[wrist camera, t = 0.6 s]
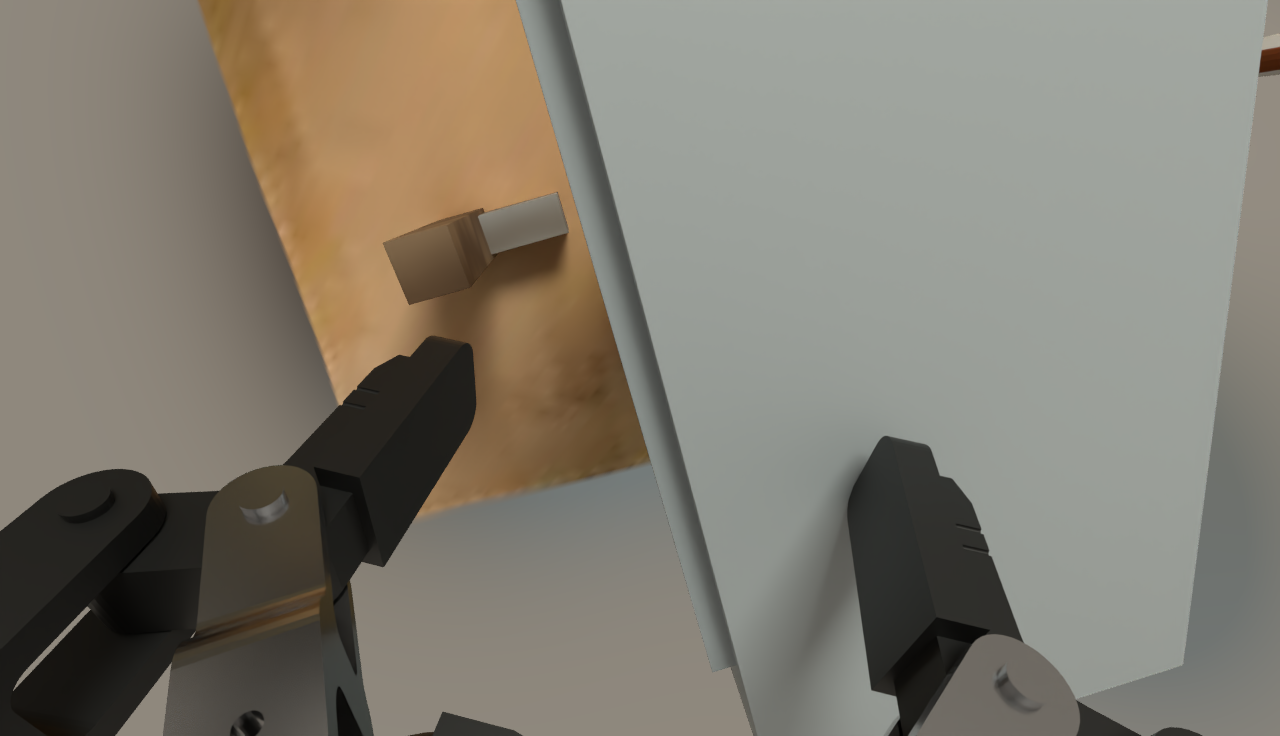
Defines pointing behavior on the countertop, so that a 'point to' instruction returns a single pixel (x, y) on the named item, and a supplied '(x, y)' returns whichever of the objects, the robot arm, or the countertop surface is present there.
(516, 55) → the countertop surface
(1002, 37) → the grey inverted l-bracket
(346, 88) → the countertop surface
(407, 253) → the tall wooden block
